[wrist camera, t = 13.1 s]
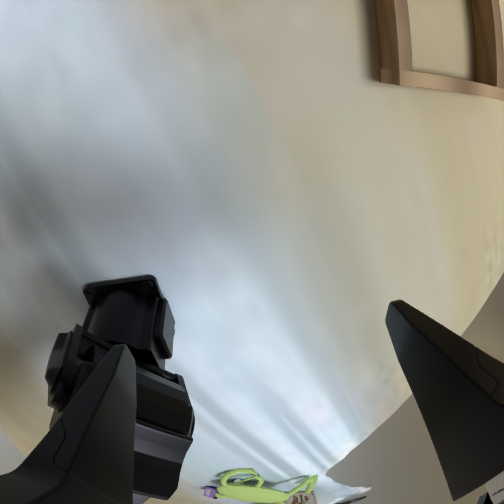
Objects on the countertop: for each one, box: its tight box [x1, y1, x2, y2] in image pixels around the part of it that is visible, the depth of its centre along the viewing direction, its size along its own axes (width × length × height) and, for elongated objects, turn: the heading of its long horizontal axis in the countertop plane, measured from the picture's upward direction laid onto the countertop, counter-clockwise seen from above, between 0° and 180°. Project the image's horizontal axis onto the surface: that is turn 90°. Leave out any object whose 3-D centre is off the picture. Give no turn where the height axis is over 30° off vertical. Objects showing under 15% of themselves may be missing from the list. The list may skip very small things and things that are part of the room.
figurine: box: [204, 468, 318, 504], centre depth 54 cm, size 18×27×6 cm
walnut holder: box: [374, 0, 504, 101], centre depth 14 cm, size 11×11×2 cm
